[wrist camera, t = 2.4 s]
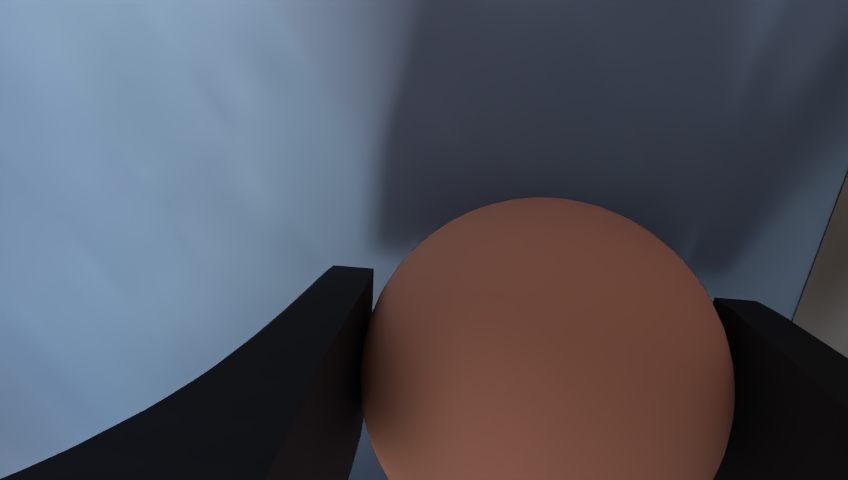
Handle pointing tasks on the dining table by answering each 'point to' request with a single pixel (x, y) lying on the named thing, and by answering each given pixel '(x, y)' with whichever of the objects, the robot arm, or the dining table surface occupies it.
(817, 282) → the tray
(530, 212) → the ball
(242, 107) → the dining table surface
